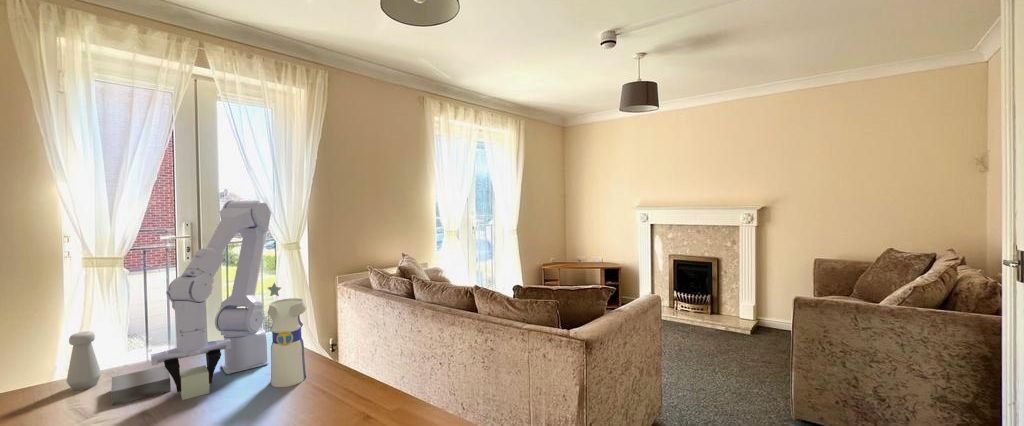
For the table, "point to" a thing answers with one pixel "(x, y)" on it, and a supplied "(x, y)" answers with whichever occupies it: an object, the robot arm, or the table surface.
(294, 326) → the cream belted dress
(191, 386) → the sage block
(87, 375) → the salt shaker
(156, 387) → the gray plinth
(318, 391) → the table surface
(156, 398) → the table surface
